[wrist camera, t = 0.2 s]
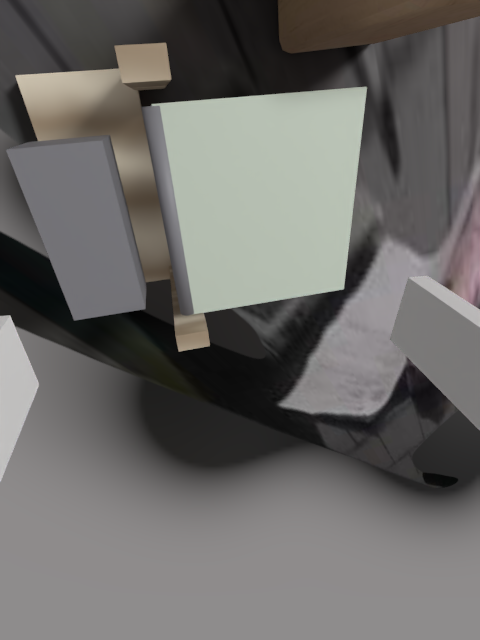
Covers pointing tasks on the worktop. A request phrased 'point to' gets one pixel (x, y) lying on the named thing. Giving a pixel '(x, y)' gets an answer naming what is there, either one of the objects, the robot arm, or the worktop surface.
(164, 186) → the trapdoor
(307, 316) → the worktop surface
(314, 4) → the wooden block
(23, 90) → the trapdoor frame
